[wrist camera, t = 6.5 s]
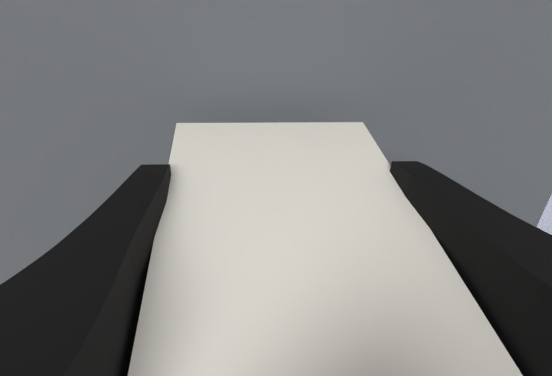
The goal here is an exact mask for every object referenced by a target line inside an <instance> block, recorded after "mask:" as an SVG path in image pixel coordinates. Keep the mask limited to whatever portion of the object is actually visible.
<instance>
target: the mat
mask: <svg viewBox="0 0 552 376" xmlns="http://www.w3.org/2000/svg"><path fill="white" fill-rule="evenodd" d="M279 122H363V123H364V125H365V126H366V128H367V129H368V131H369V133H370V134H371V136H372V137H373V139H374V140H375V142H376V144H377V145H378V147H379V148H380V150H381V152H382V153H383V155H384V156H385V158H386V160H387V161H388V163H389V164H390V166H391V162H392V161H419V162H421V163H423V164H425V165H427V166H429V167H431V168H433V169H435V170H436V171H438V172H440V173H442V174H443V175H445V176H447V177H449V178H450V179H452V180H454V181H455V182H457V183H459V184H460V185H462V186H464V187H465V188H467V189H469V190H470V191H472V192H474V193H475V194H477V195H479V196H481V197H482V198H484V199H486V200H487V201H489V202H491V203H493V204H494V205H496V206H498V207H499V208H501V209H503V210H505V211H507V212H508V213H510V214H512V215H514V216H516V217H518V218H519V219H521V220H523V221H525V222H527V223H529V224H531V225H533V226H535V227H537V224H538V222H539V220H540V218H541V215H542V213H543V211H544V209H545V207H546V204H547V202H548V200H549V198H550V196H551V193H552V0H0V284H2V283H4V282H5V281H7V280H8V279H10V278H11V277H13V276H14V275H16V274H17V273H18V272H20V271H21V270H23V269H24V268H26V267H27V266H28V265H30V264H31V263H33V262H34V261H35V260H37V259H38V258H40V257H41V256H42V255H44V254H45V253H46V252H48V251H49V250H50V249H51V248H53V247H54V246H55V245H57V244H58V243H59V242H60V241H61V240H63V239H64V238H65V237H66V236H67V235H68V234H70V233H71V232H72V231H73V230H74V229H75V228H76V227H78V226H79V225H80V224H81V223H82V222H83V221H85V220H86V219H87V218H88V217H89V216H90V215H91V214H92V213H93V212H94V211H95V210H96V209H97V208H98V207H99V206H100V205H102V204H103V203H104V202H105V201H106V200H107V199H108V198H109V197H110V196H111V195H112V194H113V193H114V192H115V191H116V190H117V189H118V188H119V187H120V186H121V184H122V183H123V182H124V181H125V180H126V179H127V178H128V177H129V176H130V175H131V174H132V173H133V172H134V171H135V170H136V169H137V168H138V167H139V166H140V165H149V164H169V159H170V154H171V149H172V144H173V138H174V133H175V128H176V123H279Z"/></svg>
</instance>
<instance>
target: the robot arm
mask: <svg viewBox="0 0 552 376" xmlns="http://www.w3.org/2000/svg"><path fill="white" fill-rule="evenodd" d="M390 173H391V174H392V176H393V177H394V179H395V181H396V182H397V184H398V186H399V187H400V189H401V190H402V192H403V194H404V195H405V197H406V198H407V199H408V201H409V202H410V203H411V205H412V206H413V207H414V208H415V210H416V211H417V212H418V214H419V215H420V216H421V218H422V219H423V220H424V221H425V223H426V224H427V225H428V227H429V228H430V229H431V231H432V232H433V234H434V236H435V237H436V239H437V240H438V242H439V244H440V245H441V247H442V248H443V250H444V252H445V253H446V255H447V256H448V258H449V259H450V261H451V263H452V264H453V266H454V267H455V269H456V271H457V272H458V274H459V275H460V277H461V278H462V280H463V282H464V283H465V285H466V286H467V288H468V290H469V291H470V293H471V294H472V296H473V298H474V299H475V301H476V302H477V304H478V305H479V307H480V309H481V310H482V312H483V313H484V315H485V317H486V318H487V320H488V321H489V323H490V324H491V326H492V328H493V329H494V331H495V332H496V334H497V336H498V337H499V339H500V340H501V342H502V344H503V345H504V347H505V348H506V350H507V351H508V353H509V355H510V356H511V358H512V359H513V361H514V363H515V364H516V366H517V367H518V369H519V370H520V372H521V374H522V375H523V376H552V235H550V234H548V233H546V232H544V231H542V230H540V229H538V228H537V227H535V226H533V225H531V224H529V223H527V222H525V221H523V220H521V219H519V218H518V217H516V216H514V215H512V214H510V213H508V212H507V211H505V210H503V209H501V208H499V207H498V206H496V205H494V204H493V203H491V202H489V201H487V200H486V199H484V198H482V197H481V196H479V195H477V194H475V193H474V192H472V191H470V190H469V189H467V188H465V187H464V186H462V185H460V184H459V183H457V182H455V181H454V180H452V179H450V178H449V177H447V176H445V175H443V174H442V173H440V172H438V171H436V170H435V169H433V168H431V167H429V166H427V165H425V164H423V163H421V162H419V161H392V162H391V167H390ZM170 179H171V168H170V164H149V165H140V166H139V167H138V168H137V169H136V170H135V171H134V172H133V173H132V174H131V175H130V176H129V177H128V178H127V179H126V180H125V181H124V182H123V183H122V184H121V186H120V187H119V188H118V189H117V190H116V191H115V192H114V193H113V194H112V195H111V196H110V197H109V198H108V199H107V200H106V201H105V202H104V203H103V204H102V205H100V206H99V207H98V208H97V209H96V210H95V211H94V212H93V213H92V214H91V215H90V216H89V217H88V218H87V219H86V220H85V221H83V222H82V223H81V224H80V225H79V226H78V227H76V228H75V229H74V230H73V231H72V232H71V233H70V234H68V235H67V236H66V237H65V238H64V239H63V240H61V241H60V242H59V243H58V244H57V245H55V246H54V247H53V248H51V249H50V250H49V251H48V252H46V253H45V254H44V255H42V256H41V257H40V258H38V259H37V260H35V261H34V262H33V263H31V264H30V265H28V266H27V267H26V268H24V269H23V270H21V271H20V272H18V273H17V274H16V275H14V276H13V277H11V278H10V279H8V280H7V281H5V282H4V283H2V284H0V376H128V371H129V366H130V361H131V355H132V350H133V345H134V340H135V335H136V330H137V324H138V319H139V314H140V309H141V304H142V299H143V293H144V288H145V283H146V278H147V273H148V268H149V262H150V257H151V252H152V247H153V242H154V237H155V234H156V231H157V228H158V225H159V222H160V219H161V216H162V213H163V210H164V207H165V204H166V201H167V196H168V190H169V184H170Z"/></svg>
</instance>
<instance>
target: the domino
mask: <svg viewBox="0 0 552 376" xmlns="http://www.w3.org/2000/svg"><path fill="white" fill-rule="evenodd" d="M169 164H170V168H171V179H170V184H169V190H168V196H167V201H166V204H165V207H164V210H163V213H162V216H161V219H160V222H159V225H158V228H157V231H156V234H155V237H154V242H153V247H152V252H151V257H150V262H149V268H148V273H147V278H146V283H145V288H144V293H143V299H142V304H141V309H140V314H139V319H138V324H137V330H136V335H135V340H134V345H133V350H132V355H131V361H130V366H129V371H128V376H523V375H522V374H521V372H520V370H519V369H518V367H517V366H516V364H515V363H514V361H513V359H512V358H511V356H510V355H509V353H508V351H507V350H506V348H505V347H504V345H503V344H502V342H501V340H500V339H499V337H498V336H497V334H496V332H495V331H494V329H493V328H492V326H491V324H490V323H489V321H488V320H487V318H486V317H485V315H484V313H483V312H482V310H481V309H480V307H479V305H478V304H477V302H476V301H475V299H474V298H473V296H472V294H471V293H470V291H469V290H468V288H467V286H466V285H465V283H464V282H463V280H462V278H461V277H460V275H459V274H458V272H457V271H456V269H455V267H454V266H453V264H452V263H451V261H450V259H449V258H448V256H447V255H446V253H445V252H444V250H443V248H442V247H441V245H440V244H439V242H438V240H437V239H436V237H435V236H434V234H433V232H432V231H431V229H430V228H429V227H428V225H427V224H426V223H425V221H424V220H423V219H422V218H421V216H420V215H419V214H418V212H417V211H416V210H415V208H414V207H413V206H412V205H411V203H410V202H409V201H408V199H407V198H406V197H405V195H404V194H403V192H402V190H401V189H400V187H399V186H398V184H397V182H396V181H395V179H394V177H393V176H392V174H391V173H390V167H391V166H390V164H389V163H388V161H387V160H386V158H385V156H384V155H383V153H382V152H381V150H380V148H379V147H378V145H377V144H376V142H375V140H374V139H373V137H372V136H371V134H370V133H369V131H368V129H367V128H366V126H365V125H364V123H363V122H279V123H176V128H175V133H174V138H173V144H172V149H171V154H170V159H169Z"/></svg>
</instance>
